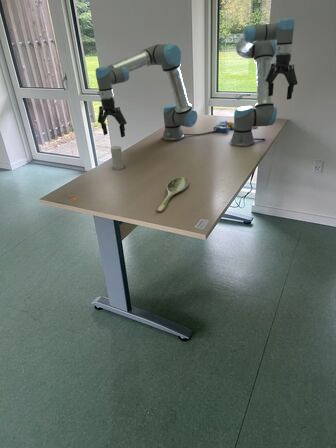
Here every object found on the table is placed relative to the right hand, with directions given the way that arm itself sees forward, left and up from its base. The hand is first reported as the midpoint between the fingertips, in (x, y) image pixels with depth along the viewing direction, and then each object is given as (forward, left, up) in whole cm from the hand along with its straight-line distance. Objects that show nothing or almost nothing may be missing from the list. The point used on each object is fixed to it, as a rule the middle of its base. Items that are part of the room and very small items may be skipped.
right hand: (279, 97), depth 181 cm
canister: (+80, -49, -35) cm, 100 cm away
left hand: (+80, -49, -15) cm, 95 cm away
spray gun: (-16, -69, -35) cm, 78 cm away
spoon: (+73, +5, -35) cm, 81 cm away
